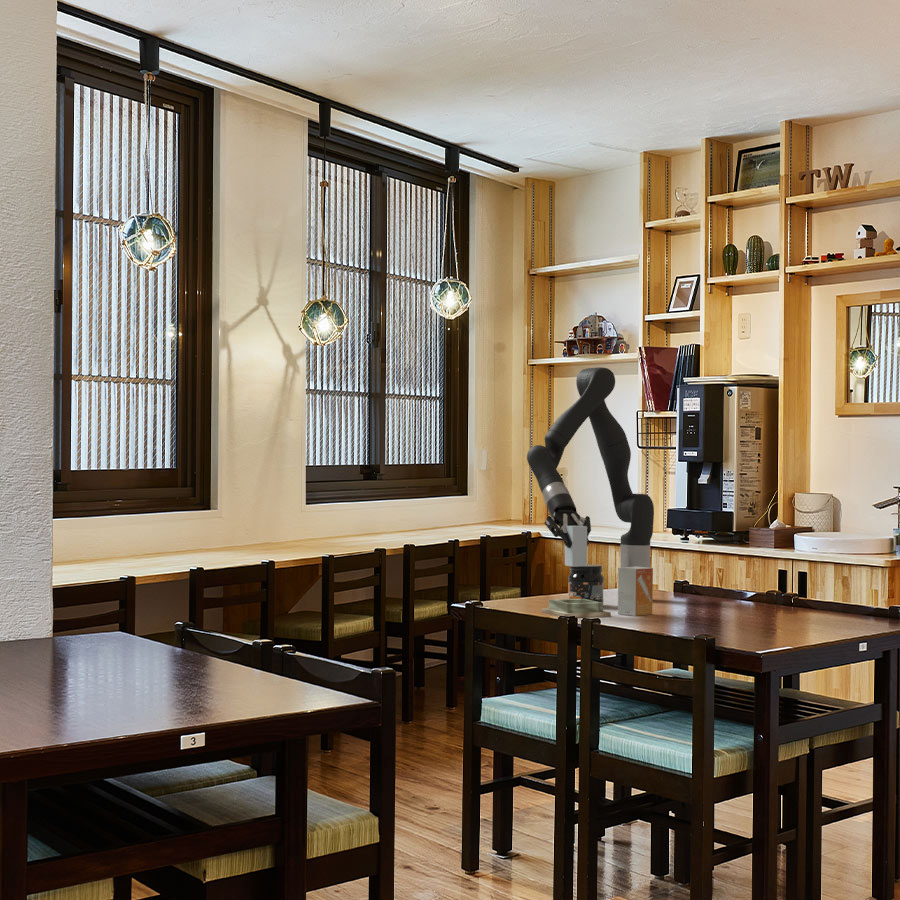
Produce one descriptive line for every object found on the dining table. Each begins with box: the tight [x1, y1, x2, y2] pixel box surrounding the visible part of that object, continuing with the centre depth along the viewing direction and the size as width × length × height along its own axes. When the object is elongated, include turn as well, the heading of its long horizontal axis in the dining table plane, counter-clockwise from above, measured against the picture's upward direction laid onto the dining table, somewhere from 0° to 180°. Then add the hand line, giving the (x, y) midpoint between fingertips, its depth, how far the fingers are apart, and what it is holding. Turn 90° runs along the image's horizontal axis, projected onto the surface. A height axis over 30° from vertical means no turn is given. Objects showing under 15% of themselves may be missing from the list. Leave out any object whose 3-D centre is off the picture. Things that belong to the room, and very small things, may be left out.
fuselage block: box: [564, 526, 588, 567], centre depth 303 cm, size 4×4×11 cm
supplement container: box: [567, 563, 605, 604], centre depth 324 cm, size 10×10×12 cm
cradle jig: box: [541, 598, 612, 618], centre depth 303 cm, size 14×14×4 cm
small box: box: [617, 567, 654, 617], centre depth 304 cm, size 8×6×13 cm
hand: (578, 545), depth 302 cm, fingers closed on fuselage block, 4 cm apart
